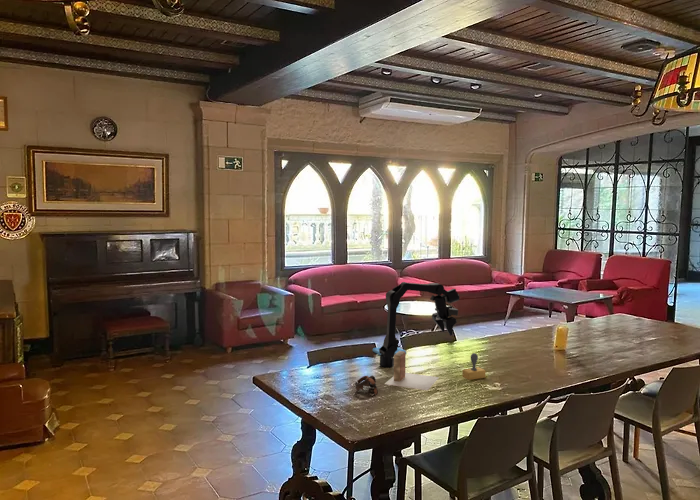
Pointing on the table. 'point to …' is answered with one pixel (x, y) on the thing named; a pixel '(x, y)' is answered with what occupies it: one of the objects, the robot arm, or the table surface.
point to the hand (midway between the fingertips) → (447, 333)
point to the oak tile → (399, 366)
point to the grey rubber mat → (414, 381)
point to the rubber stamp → (473, 370)
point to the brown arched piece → (366, 383)
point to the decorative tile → (380, 353)
